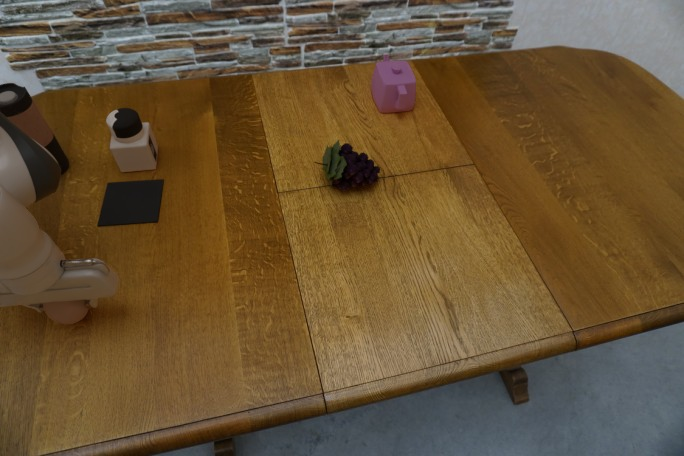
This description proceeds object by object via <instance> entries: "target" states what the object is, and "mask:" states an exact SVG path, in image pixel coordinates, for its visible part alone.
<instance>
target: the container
mask: <svg viewBox="0 0 684 456" xmlns="http://www.w3.org/2000/svg"><path fill="white" fill-rule="evenodd" d="M105 121H106V125H107V127H108V129H109V131H110V133H111V137H110V143H109V147H108V148H109V150H110V152H111V154H112V156H113V158H114V161H115V163H116V165H117V167H118V169H119V171H120V172H121V173H129V172H130V173H131V172H132V173H133V172H141V171H142V172H143V171H152V170H153V171H154V170H156V169H157V165H158V164H157V163H158V154H159V153H158V151H159V145H158V143H157V140H156V137H155V135H154V132H153V129H152V126H151V123H150V122H148V121H145V122H142V120H141V117H140V115H139V113H138V111H136V110H135V109H133V108H131V107H120V108H116V109H114V110H112V111H111V112H110V113H109V114H108V115H107V116H106V119H105Z"/></svg>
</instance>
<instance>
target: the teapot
mask: <svg viewBox="0 0 684 456" xmlns="http://www.w3.org/2000/svg"><path fill="white" fill-rule="evenodd" d="M370 90H371V94H372V98H373V101H374V104H375V106H376V108H377V110H378V112H379V113H381V114H392V113H401V112H410V111H412V110H413V109H414V106H415V104H416V99H417V98H416V96H417V80H416V77H415V74H414V72H413V70H412V67H411V66H410V63H408V61H407V60H405V59H403V60H391V59H390V56H389V54H383V57H382V61H377V62H376V64H375V66H374V70H373V73H372V77H371V84H370Z"/></svg>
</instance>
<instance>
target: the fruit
mask: <svg viewBox="0 0 684 456" xmlns="http://www.w3.org/2000/svg"><path fill="white" fill-rule="evenodd" d="M353 149H354V148H353V146H352V144H350V143H349V142H344V143H343V144H342V145H341V142H340V139H338V140H337V141H335V143H333V145H332V144H331V145H328V144H327V145H326V148H325V149H324V153H323V156H322V161H321V162H322V163H321V162H317V161H314V162H313V163H314V164H318V165H321V166H322V168H321V169H322V171H323V172H324V175H325V180H327V181H328V184H329V186H330V187H333V185H334V187H335V188H336V189H337V190H341V191H342V192H345V191H348V190H349V189H350V187H355V188H356V187H357V188H358V187H359V186H362V187H364V188H365V187H366V186H368V187H369V186H371V185H372V184H373V185H374V184H376V183H378V182H379V176H378V174H380V173H381V167H380V166H378V165H375V161H374V160H373V159H372V158H369V156H368V153H365V152H360V153H359V152H358V151H354V150H353ZM332 184H333V185H332Z"/></svg>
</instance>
